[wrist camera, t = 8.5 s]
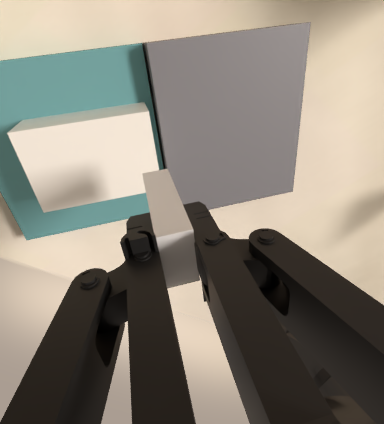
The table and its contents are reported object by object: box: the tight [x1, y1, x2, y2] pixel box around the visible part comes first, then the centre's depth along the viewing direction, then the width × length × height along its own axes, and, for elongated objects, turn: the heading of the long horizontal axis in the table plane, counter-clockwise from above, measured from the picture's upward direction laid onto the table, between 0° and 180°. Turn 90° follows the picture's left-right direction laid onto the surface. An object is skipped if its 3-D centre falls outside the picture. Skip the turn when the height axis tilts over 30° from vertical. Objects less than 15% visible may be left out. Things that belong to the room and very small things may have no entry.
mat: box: [0, 43, 164, 240], centre depth 23 cm, size 14×13×2 cm
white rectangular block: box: [7, 102, 159, 213], centre depth 21 cm, size 6×9×4 cm, turn 95°
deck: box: [143, 22, 311, 210], centre depth 24 cm, size 14×12×3 cm
